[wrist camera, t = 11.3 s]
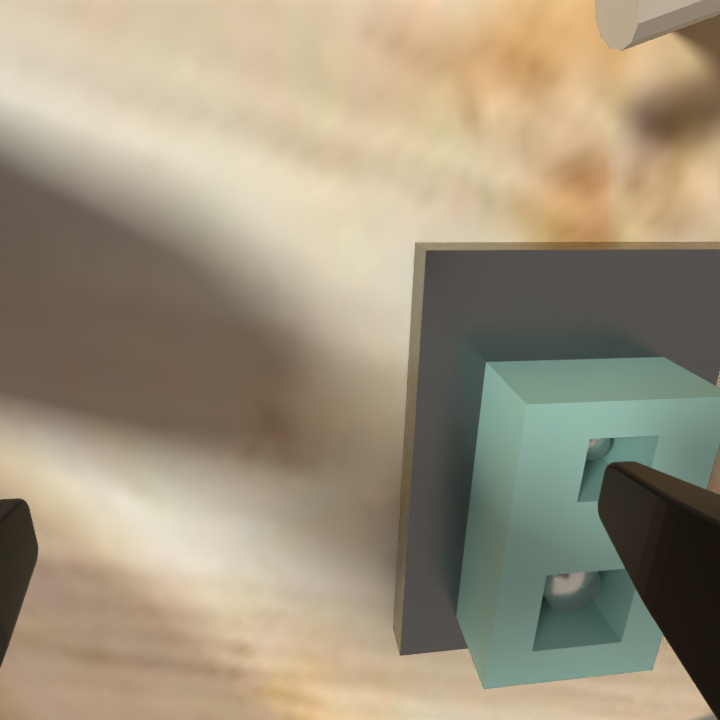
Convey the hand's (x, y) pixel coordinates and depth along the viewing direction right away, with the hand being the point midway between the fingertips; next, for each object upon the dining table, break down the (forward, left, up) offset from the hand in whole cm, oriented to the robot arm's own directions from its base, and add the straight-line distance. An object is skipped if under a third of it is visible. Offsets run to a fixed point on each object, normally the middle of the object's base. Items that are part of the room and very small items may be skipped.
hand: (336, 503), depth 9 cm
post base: (+10, -7, -12) cm, 17 cm away
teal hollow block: (+10, -8, -10) cm, 17 cm away
